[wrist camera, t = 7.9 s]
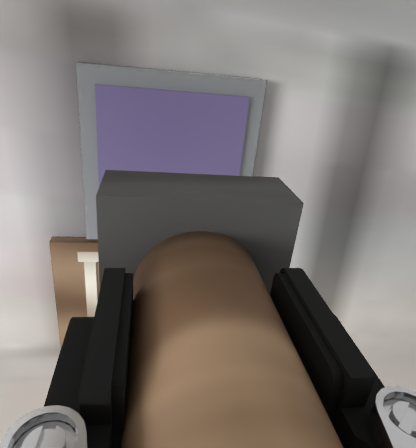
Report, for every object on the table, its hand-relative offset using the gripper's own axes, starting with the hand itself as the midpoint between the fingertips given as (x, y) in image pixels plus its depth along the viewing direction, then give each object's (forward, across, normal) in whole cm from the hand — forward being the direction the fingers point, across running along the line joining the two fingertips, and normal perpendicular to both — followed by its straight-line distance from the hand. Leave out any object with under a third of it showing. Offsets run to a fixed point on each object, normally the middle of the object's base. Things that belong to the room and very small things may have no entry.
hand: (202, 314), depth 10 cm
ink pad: (+16, 0, 0) cm, 16 cm away
